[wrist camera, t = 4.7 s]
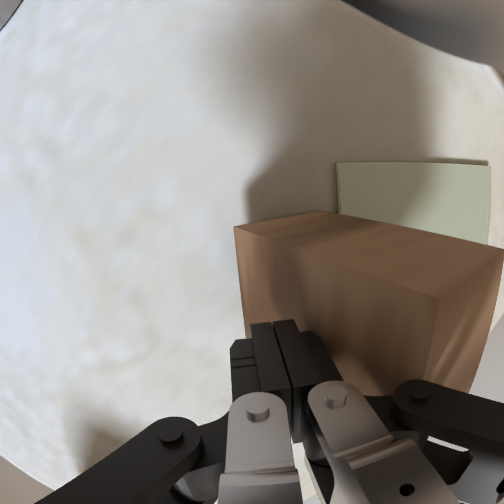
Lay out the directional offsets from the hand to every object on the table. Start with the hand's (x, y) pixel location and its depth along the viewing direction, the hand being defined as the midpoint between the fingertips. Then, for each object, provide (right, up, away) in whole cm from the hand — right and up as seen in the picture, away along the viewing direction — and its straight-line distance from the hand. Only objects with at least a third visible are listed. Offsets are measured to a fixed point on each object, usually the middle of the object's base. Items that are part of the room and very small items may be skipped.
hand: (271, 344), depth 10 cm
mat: (+10, +3, +7) cm, 13 cm away
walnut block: (+1, +2, +5) cm, 6 cm away
